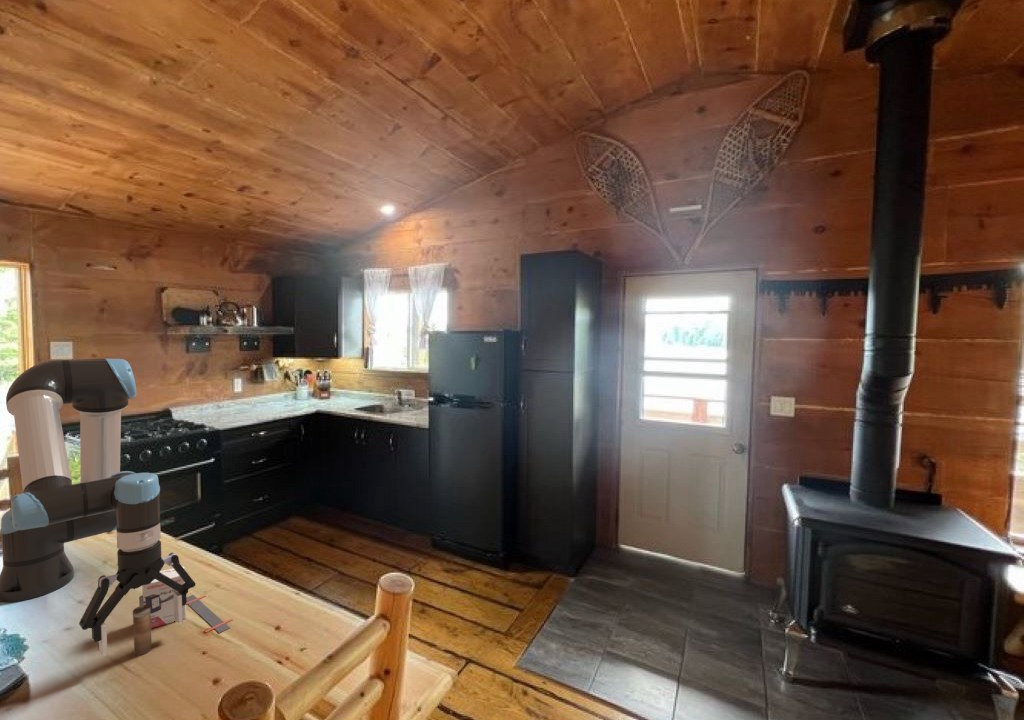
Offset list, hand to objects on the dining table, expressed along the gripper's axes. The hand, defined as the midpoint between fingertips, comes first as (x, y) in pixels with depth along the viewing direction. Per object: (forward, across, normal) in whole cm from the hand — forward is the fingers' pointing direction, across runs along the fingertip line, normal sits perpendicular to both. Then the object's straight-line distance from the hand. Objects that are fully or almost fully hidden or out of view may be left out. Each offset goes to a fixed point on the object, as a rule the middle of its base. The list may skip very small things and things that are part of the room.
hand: (142, 635), depth 102 cm
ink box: (+4, +7, +9) cm, 12 cm away
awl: (+4, 0, 0) cm, 4 cm away
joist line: (+4, +14, +4) cm, 15 cm away
